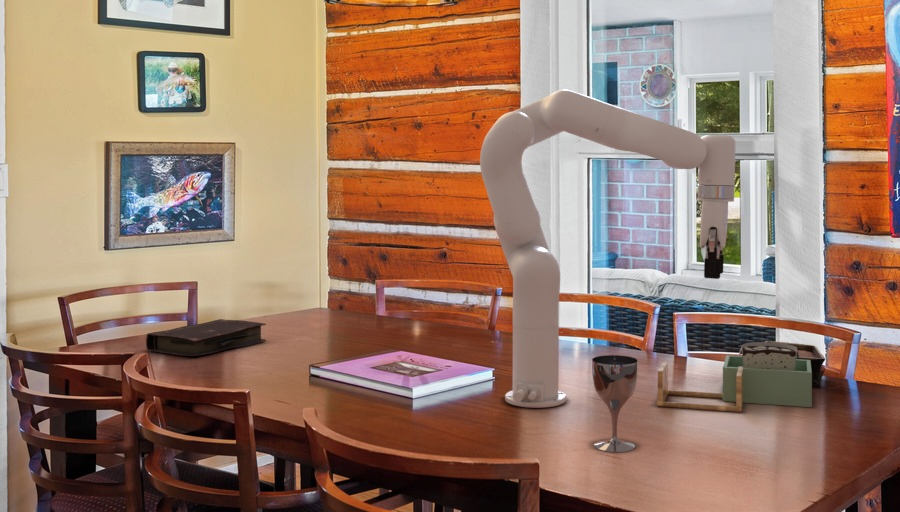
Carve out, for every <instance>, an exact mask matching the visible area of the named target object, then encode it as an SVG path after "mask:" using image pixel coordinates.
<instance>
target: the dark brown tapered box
mask: <svg viewBox="0 0 900 512" xmlns="http://www.w3.org/2000/svg"><path fill="white" fill-rule="evenodd" d="M765 342H772V343H782V344H788V345H792V346H795V347H797V350H798V351H799V356H800V358H798V357H797V358H796V359H801V360H810V361H811V370H812V386H816V387H818V388H821V385H822V384H821V383H822V379H823V377H824V373H825V371H826V367H825V365H824V362H825V361H826V358H825V355H823V354H822V353H821V352H820V350H819V347H817V346H816V345H813V344H807V343H806V344H805V343H797V342H795V343H794V342H788V341H787V342H786V341H774V340H773V341H772V340H765Z"/></svg>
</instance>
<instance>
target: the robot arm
mask: <svg viewBox="0 0 900 512" xmlns="http://www.w3.org/2000/svg"><path fill="white" fill-rule="evenodd" d="M563 132H565V133H567V134H570V135H573V136H576V137H579V138H581V139H584V140H588V141H590V142H593V143H596V144H599V145H601V146H604V147H607V148H610V149H614V150H618V151H622V152H623V151H624V152H630V153H636V154H640V155H644V156H647V157H650V158H653V159H656V160H659V161H662V162H663V163H664V164H665V165H666V166H667V167H670V168H672V169H675V170H676V169H677V170H693V169H696V168H698V169H697V201H701V210H700V211H701V212H700V230H699V231H700V233H699V247H700V248H701V249H704V248H705V257H704V262H703V263H704V265H703V266H704V267H703V278H704V279H712V280H719V279H720V278H721V275H722V274H724V260H725V259H724V256H725V255H724V248H725V246H726V242H727V235H728V222H729V221H728V220H729V203H733V202H735V181H736V180H735V178H736V140H735V138H734V137H733V136H731V135H725V134H723V135H722V134H706V135H702V136H699V135H698V134H697V133H695V132H693V131H689V130H686V129H684V128H682V127H678V126H675V125H673V124H669V123H666V122H664V121H660V120H658V119H654V118H651V117H648V116H645V115H642V114H639V113H637V112H634V111H631V110H628V109H625V108H623V107H619V106H616V105H614V104H610V103H608V102H604V101H602V100H600V99H597V98H594V97H591V96H587V95H585V94H582V93H579V92H577V91H573V90H570V89H559V90H556V91H554V92H552V93H551V94H549V95H547V96H545V97H543V98H540V99H538V100H536V101H534V102H532V103H529V104H527V105H525V106H523V107H520V108H518V109H515V110H513V111H509V112H505V113H504V114H502V115H501V116H500V117H499V118H497V120H496V121H495V123H493V125H492V126H491V127H490V129H489V130H488V132H487V134H486V135H485V137H484V139H483V142H482V145H481V149H480V155H479V166H480V167H479V168H480V173H481V177H482V180H483V185H484V187H485V190H486V194H487V198H488V201H489V203H490V206H491V209H492V212H493V225H494V228H495V231H496V234H497V237H498V240H499V243H500V246H501V249H502V252H503V254H504V257H505V260H506V263H507V265H508V268H509V272H510V273H511V276H512V284H513V285H512V390H509V391H508V392H506V393H505V394H504V400H505V402H506V403H507V404H509V405H511V406H516V407H521V408H531V409H537V408H538V409H540V408H541V409H543V408H544V409H545V408H551V407H557V406H561V405H563V404H564V403H565V402H566V401H567V394H566V393H564V392H563V391H561V390H559V387H560V386H559V376H560V375H559V373H560V372H559V371H560V370H559V368H560V367H559V365H560V364H559V363H560V362H559V360H560V359H559V358H560V357H559V356H560V355H559V354H560V353H559V352H560V351H559V347H560V345H559V342H560V341H559V340H560V339H559V338H560V334H559V333H560V332H559V331H560V330H559V329H560V328H559V327H560V326H559V318H560V317H559V316H560V315H559V311H560V309H559V307H560V289H561V269H560V265H559V262H558V260H557V259H556V257H555V255H554V254H553V253H551V251H550V249H549V245H548V243H547V240H546V237H545V235H544V231H543V228H542V226H541V215H540V212H539V210H538V208H537V206H536V204H535V201H534V199H533V197H532V193H531V191H530V188H529V185H528V182H527V178H526V175H525V172H524V169H523V161H522V160H523V155H524V152H525V151H526V150H527V149H528V148H530V147H532V146H534V145H537V144H539V143H541V142H544V141H546V140H548V139H550V138H553V137H555V136H557V135H560V134H561V133H563Z"/></svg>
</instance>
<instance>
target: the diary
mask: <svg viewBox="0 0 900 512" xmlns="http://www.w3.org/2000/svg"><path fill="white" fill-rule="evenodd" d="M266 325H267V323H265V322H258V321H257V322H256V321H251V320H241V319H223V318H219V319H214V320H211V321H206V322H202V323H195V324H189V325H184V326H178V327H175V328H171V329H166V330H160V331H153V332H148V333H147V334H146V337H145V347H146V351H147V352H154V353H162V354H167V355H168V354H169V355H174V356H183V357H198V356H203V355H209V354H214V353H215V354H216V353H219V352H222V351H225V350H229V349H234V348H243V347H249V346H252V345H256V344H260V343H262V342H266V341H267V339H265V338H262V326H263V327H264V326H266Z"/></svg>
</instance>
